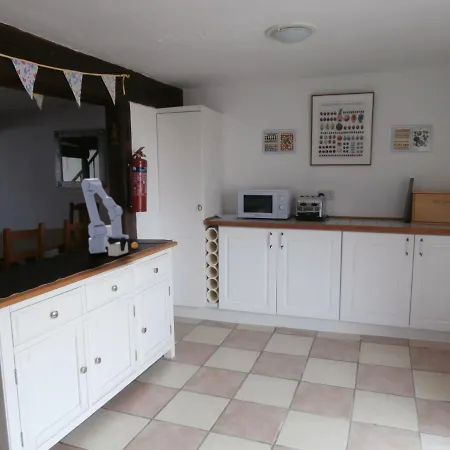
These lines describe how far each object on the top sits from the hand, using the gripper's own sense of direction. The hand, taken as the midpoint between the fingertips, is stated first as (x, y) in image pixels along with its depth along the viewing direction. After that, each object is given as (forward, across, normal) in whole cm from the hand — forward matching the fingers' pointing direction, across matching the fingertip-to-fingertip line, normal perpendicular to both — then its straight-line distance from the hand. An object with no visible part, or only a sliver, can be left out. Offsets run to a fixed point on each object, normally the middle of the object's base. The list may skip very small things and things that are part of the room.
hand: (118, 250), depth 242 cm
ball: (0, 0, -17) cm, 17 cm away
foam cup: (+2, +25, -23) cm, 34 cm away
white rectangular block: (+2, 0, 0) cm, 2 cm away
